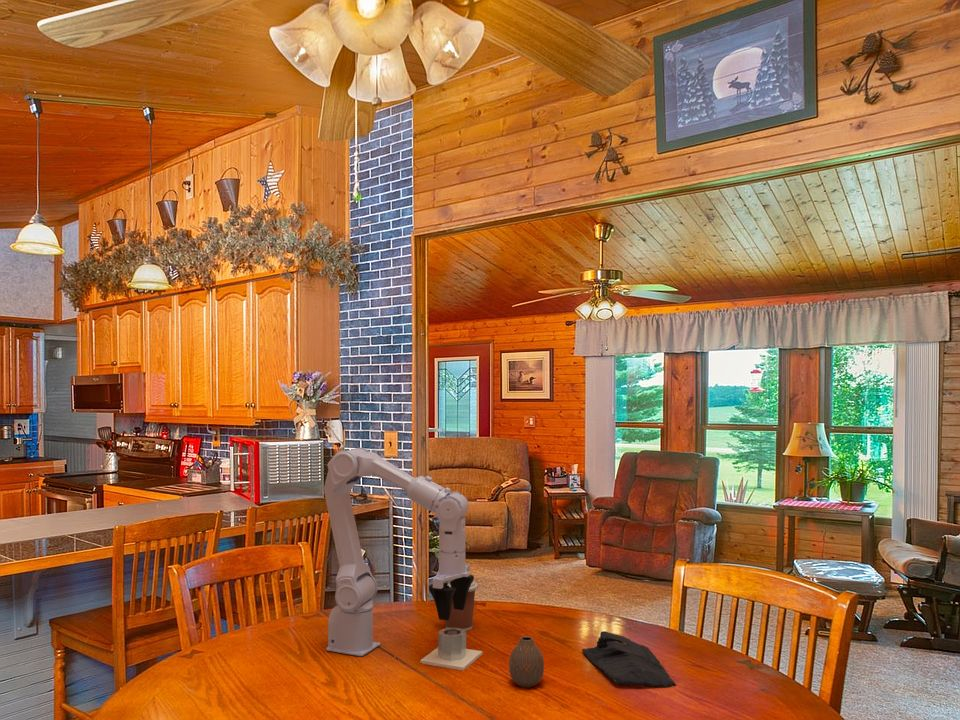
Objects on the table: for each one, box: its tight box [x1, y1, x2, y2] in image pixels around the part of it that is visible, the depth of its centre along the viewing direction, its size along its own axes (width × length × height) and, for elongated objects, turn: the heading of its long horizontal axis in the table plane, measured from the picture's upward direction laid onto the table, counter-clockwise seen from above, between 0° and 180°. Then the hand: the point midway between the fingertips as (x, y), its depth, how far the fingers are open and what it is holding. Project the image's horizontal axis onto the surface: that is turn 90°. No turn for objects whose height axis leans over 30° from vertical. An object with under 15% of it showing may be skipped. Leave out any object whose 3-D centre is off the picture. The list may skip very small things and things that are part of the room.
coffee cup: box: [444, 580, 479, 632], centre depth 177 cm, size 9×9×12 cm
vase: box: [508, 635, 545, 688], centre depth 143 cm, size 7×7×9 cm
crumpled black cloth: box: [581, 631, 677, 688], centre depth 152 cm, size 15×22×5 cm
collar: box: [437, 627, 467, 661], centre depth 156 cm, size 6×6×5 cm
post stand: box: [419, 631, 483, 671], centre depth 156 cm, size 10×10×6 cm
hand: (451, 614), depth 157 cm, fingers open, 7 cm apart
